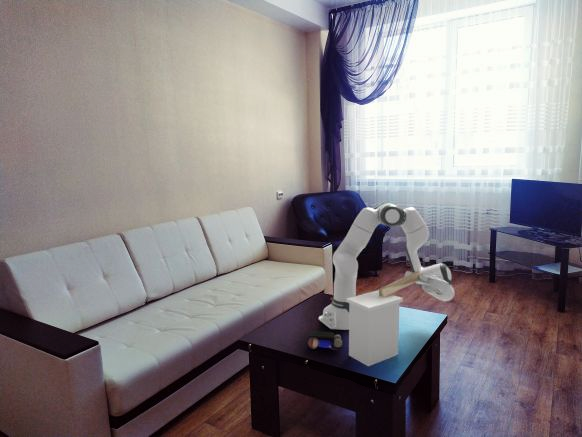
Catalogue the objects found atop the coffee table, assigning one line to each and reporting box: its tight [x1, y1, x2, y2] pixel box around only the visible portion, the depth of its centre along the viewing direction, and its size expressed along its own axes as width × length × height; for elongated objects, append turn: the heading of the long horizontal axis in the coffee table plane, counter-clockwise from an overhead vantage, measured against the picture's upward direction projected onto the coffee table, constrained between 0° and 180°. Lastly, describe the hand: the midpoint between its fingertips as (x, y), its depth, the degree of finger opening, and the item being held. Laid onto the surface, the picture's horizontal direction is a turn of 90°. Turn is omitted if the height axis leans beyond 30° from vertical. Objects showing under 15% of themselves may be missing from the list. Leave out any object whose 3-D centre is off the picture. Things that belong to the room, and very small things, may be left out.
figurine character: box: [307, 330, 343, 351], centre depth 193 cm, size 7×8×15 cm
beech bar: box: [378, 271, 423, 297], centre depth 190 cm, size 3×26×3 cm, turn 124°
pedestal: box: [346, 289, 404, 367], centre depth 184 cm, size 14×20×26 cm
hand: (415, 275), depth 195 cm, fingers closed on beech bar, 3 cm apart
